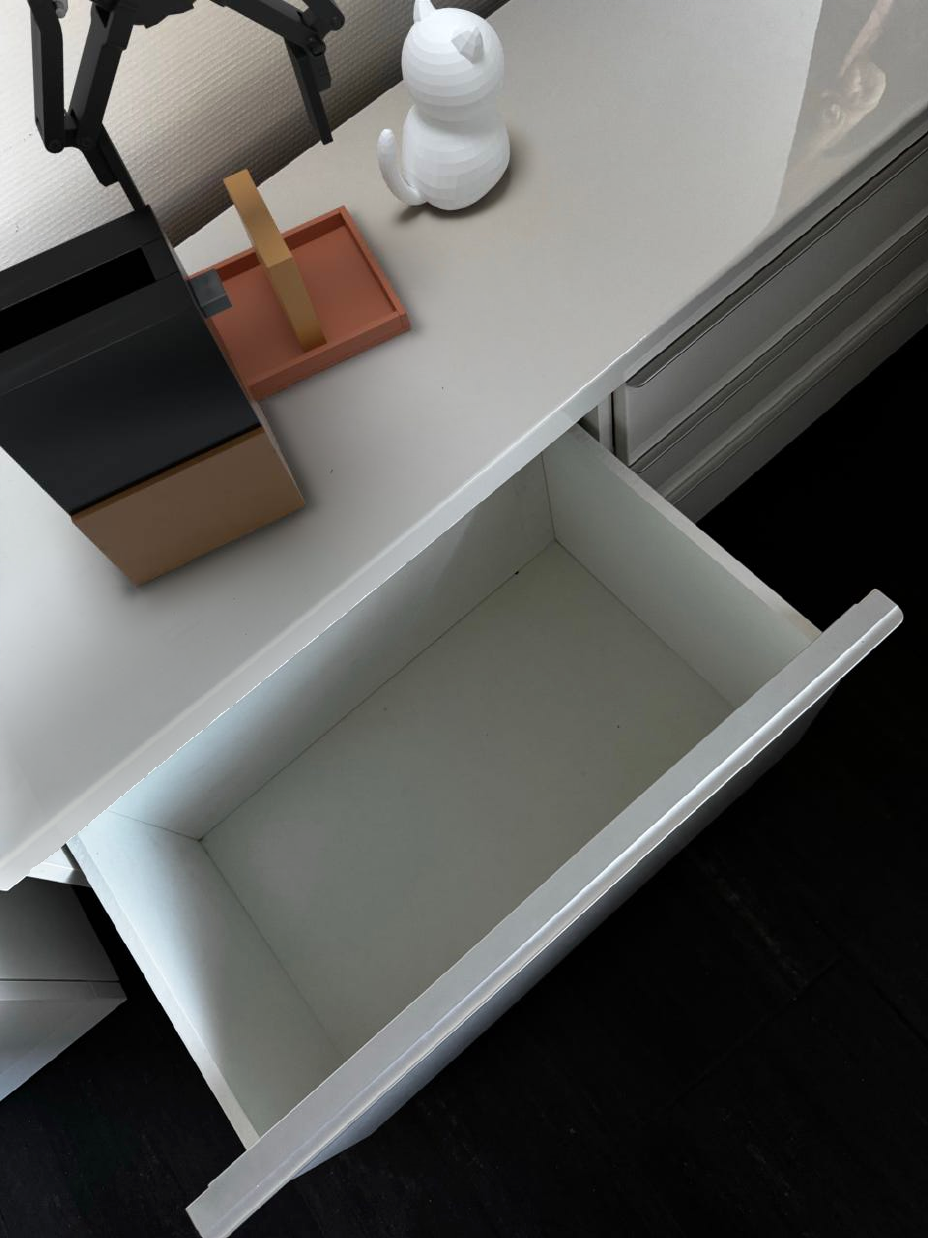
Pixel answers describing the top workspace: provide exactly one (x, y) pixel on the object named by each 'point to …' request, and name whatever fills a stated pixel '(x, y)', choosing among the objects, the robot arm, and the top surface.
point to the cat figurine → (448, 111)
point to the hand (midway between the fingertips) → (232, 171)
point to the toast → (275, 260)
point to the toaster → (134, 400)
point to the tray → (338, 290)
